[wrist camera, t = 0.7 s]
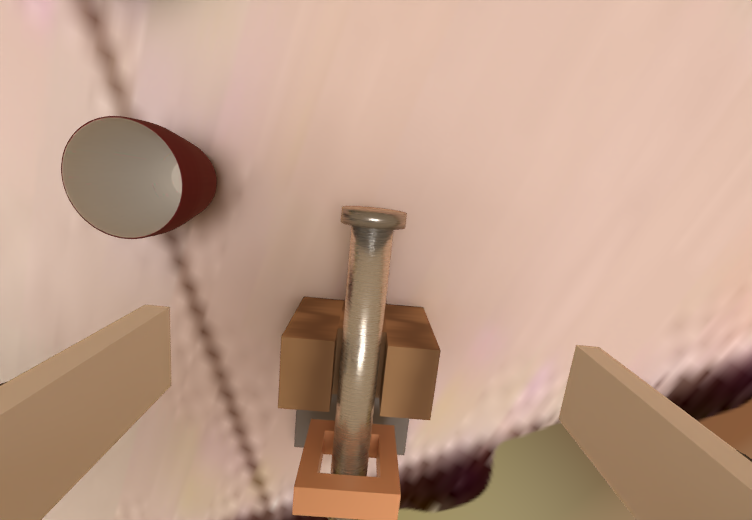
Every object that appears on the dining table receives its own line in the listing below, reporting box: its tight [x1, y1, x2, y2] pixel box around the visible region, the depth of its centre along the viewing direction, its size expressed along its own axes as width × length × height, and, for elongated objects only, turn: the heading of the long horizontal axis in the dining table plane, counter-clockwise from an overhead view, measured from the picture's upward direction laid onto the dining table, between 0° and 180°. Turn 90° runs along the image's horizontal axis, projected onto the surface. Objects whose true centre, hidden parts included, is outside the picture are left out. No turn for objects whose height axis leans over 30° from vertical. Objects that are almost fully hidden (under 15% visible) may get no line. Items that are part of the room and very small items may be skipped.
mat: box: [294, 394, 409, 455], centre depth 39 cm, size 12×11×1 cm
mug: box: [61, 116, 217, 239], centre depth 29 cm, size 11×8×10 cm
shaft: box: [328, 206, 407, 520], centre depth 29 cm, size 26×5×5 cm, turn 175°
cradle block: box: [278, 297, 440, 420], centre depth 33 cm, size 12×6×10 cm, turn 84°
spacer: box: [292, 419, 401, 520], centre depth 32 cm, size 8×2×8 cm, turn 84°
